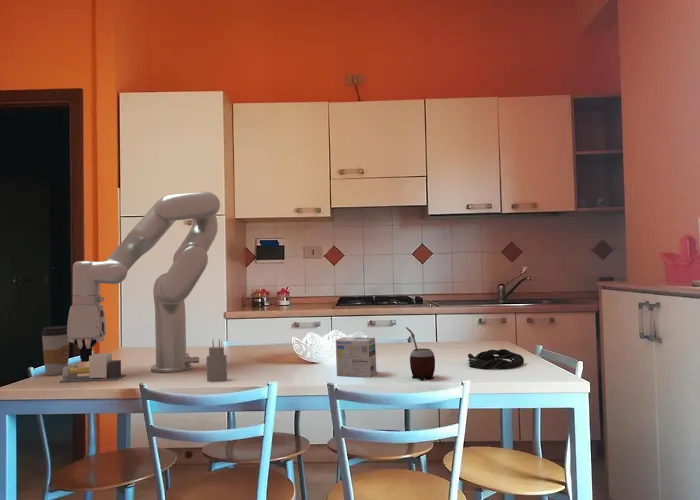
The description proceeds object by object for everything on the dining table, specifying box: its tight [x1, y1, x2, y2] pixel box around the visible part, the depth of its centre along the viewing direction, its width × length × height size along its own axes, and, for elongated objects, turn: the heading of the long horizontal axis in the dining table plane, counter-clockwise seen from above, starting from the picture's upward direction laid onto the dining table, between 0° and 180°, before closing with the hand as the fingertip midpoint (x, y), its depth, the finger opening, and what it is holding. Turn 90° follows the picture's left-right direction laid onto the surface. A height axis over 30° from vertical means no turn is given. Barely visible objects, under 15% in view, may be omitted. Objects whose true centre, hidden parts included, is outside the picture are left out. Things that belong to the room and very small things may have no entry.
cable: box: [467, 348, 525, 370], centre depth 168 cm, size 17×14×4 cm
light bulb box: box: [335, 336, 377, 378], centre depth 160 cm, size 11×7×11 cm, turn 71°
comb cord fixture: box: [59, 359, 127, 383], centre depth 165 cm, size 17×7×5 cm, turn 92°
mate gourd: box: [405, 326, 436, 382], centre depth 152 cm, size 8×8×15 cm
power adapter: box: [206, 339, 228, 383], centre depth 158 cm, size 3×5×12 cm, turn 86°
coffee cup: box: [41, 325, 70, 376], centre depth 175 cm, size 8×8×15 cm
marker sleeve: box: [88, 352, 113, 378], centre depth 165 cm, size 5×5×7 cm
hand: (86, 361), depth 165 cm, fingers closed
